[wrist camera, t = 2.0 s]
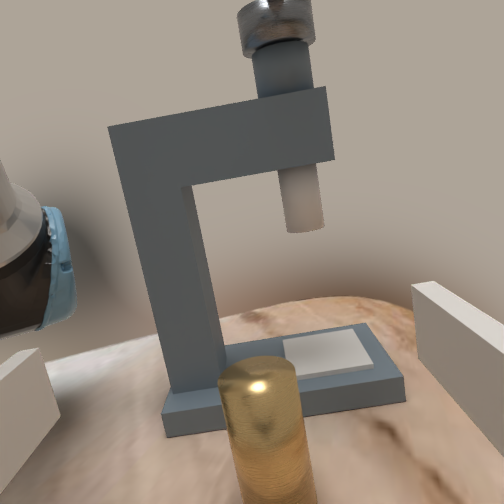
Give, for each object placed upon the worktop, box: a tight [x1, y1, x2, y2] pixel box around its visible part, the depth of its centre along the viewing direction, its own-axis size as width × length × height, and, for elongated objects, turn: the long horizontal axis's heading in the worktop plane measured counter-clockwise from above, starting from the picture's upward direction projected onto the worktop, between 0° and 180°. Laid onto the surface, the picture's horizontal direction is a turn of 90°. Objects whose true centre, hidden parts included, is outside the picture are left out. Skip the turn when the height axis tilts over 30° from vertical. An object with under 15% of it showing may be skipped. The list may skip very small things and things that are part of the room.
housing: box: [217, 356, 317, 504], centre depth 26 cm, size 5×5×10 cm
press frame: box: [108, 41, 406, 438], centre depth 38 cm, size 22×12×32 cm, turn 90°
